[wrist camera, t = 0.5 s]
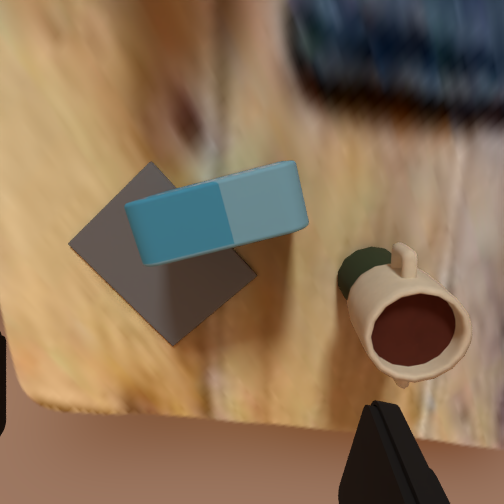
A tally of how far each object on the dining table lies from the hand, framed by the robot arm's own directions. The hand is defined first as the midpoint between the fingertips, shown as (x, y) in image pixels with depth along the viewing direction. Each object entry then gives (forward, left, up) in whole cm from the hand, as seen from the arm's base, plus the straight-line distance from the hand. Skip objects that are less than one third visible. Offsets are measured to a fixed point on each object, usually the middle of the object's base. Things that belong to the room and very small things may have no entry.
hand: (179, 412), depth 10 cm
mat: (+9, -3, -28) cm, 29 cm away
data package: (0, -3, -28) cm, 28 cm away
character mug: (-5, +12, -28) cm, 31 cm away
